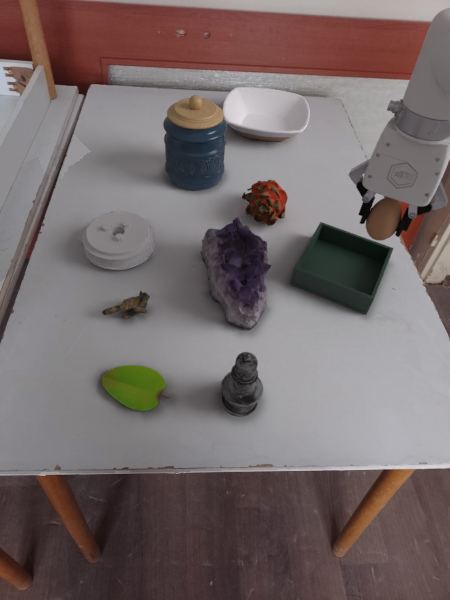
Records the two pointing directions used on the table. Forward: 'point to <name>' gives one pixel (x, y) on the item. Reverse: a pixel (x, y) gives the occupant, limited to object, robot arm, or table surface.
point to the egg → (384, 219)
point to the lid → (118, 240)
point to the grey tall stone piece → (242, 386)
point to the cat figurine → (130, 306)
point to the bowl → (266, 113)
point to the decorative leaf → (135, 386)
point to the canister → (194, 143)
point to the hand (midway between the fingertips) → (381, 224)
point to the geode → (237, 272)
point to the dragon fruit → (266, 202)
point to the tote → (342, 267)
